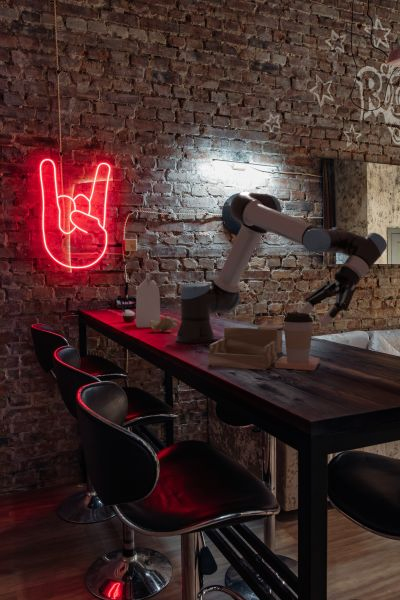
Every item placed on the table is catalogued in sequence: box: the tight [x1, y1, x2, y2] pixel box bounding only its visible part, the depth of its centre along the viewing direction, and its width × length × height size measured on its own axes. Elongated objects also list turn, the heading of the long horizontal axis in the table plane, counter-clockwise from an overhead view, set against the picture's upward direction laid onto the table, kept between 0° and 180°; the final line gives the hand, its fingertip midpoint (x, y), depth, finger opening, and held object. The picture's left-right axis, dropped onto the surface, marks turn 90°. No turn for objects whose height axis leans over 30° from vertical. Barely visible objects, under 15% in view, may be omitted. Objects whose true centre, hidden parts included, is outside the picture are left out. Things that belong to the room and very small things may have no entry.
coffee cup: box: [283, 312, 314, 363], centre depth 167 cm, size 9×9×15 cm
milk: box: [135, 272, 162, 328], centre depth 266 cm, size 12×12×26 cm
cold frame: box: [208, 326, 278, 371], centre depth 172 cm, size 18×18×10 cm
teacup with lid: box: [257, 318, 284, 354], centre depth 194 cm, size 12×9×12 cm
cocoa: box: [119, 299, 136, 323], centre depth 282 cm, size 10×6×12 cm, turn 103°
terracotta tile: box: [274, 355, 320, 371], centre depth 168 cm, size 12×12×2 cm
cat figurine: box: [150, 316, 179, 334], centre depth 244 cm, size 8×7×12 cm
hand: (310, 321), depth 168 cm, fingers open, 13 cm apart
